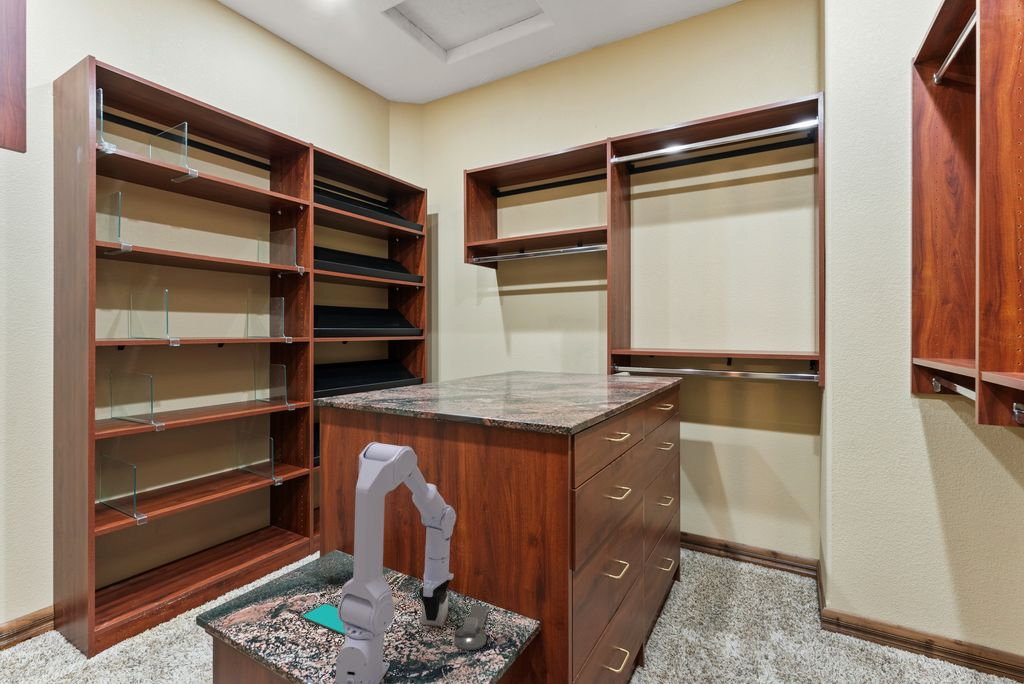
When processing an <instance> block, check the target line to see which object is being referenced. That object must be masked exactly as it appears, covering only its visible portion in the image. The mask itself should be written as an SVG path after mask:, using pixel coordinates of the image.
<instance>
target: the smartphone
mask: <svg viewBox="0 0 1024 684" xmlns="http://www.w3.org/2000/svg"><path fill="white" fill-rule="evenodd" d="M324 603H325V604H323V603H321V604H319V605H318V606H315V607H313V609H310V610H308V611H307V612H304V613H303V614H300V615H299V618H300V619H301V618H302V619H301V620H303V619H305V620H304V621H306V620H307V621H306V622H308V621H310V622H312V623H311V624H313V623H314V625H315V624H316V625H315V626H318V627H321V628H323V630H327V631H329V632H332V633H334V634H336V635H339V636H343V637H345V632H346V631H345V629H343V622H341V621H340V620H339V618H338V614H337V610H338V606H334V605H331V604H329V603H327V602H324ZM310 622H309V623H310Z"/></svg>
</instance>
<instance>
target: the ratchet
mask: <svg viewBox="0 0 1024 684" xmlns="http://www.w3.org/2000/svg"><path fill="white" fill-rule="evenodd" d="M488 609H489V607H488V606H487V605H486V606H485V605H483V606H482V605H472V608H471V610H470V614H469V616H466V617H465V619H464V622H463V626H461V627H459V628H457V629H456V630H455V632H454V636H453V637H454V638H453V644H454V646H455V647H456V648H457V649H459V650H462V651H465V650H475V651H478V650H481V649H482V648H484V647H485V645H486V643H487V632H486V630H485V629H484V628H483V627H484V625H485V622H486V618H487V616H488V611H489V610H488ZM483 646H484V647H483ZM480 648H481V649H480ZM477 649H478V650H477Z"/></svg>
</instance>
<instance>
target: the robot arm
mask: <svg viewBox="0 0 1024 684" xmlns="http://www.w3.org/2000/svg"><path fill="white" fill-rule="evenodd" d="M417 464H418V456H417V454H416V453H415V451H414V449H413V448H412V447H411V446H409V445H406V446H405V445H403V446H402V445H394V444H389V443H388V444H387V443H380V442H378V441H373V442H369V443H368V445H366V447H365V448H364V449H363V450H362V451H361V453H360V454H359V455H358V479H357V482H356V486H355V503H354V504H355V505H354V506H355V507H354V534H353V535H354V540H353V542H354V545H353V571H352V572H353V574H352V576H353V577H352V578H351V579H349V580H348V581H347V582H345V583H344V585H342V594H341V599H340V602H339V601H338V606H337V608H338V610H337V614H338V618H339V620H340V621H341V622H343V629H345V631H346V632H345V636H344V643H343V644H342V647H341V648H340V650H339V652H338V653H337V656H336V660H335V661H336V662H335V681H334V683H333V684H380V683H381V682H382V680H383V677H384V676H385V675H386V673H387V671H388V670H389V668H390V664H391V663H389V662H385V661H383V658H384V642H385V632H386V630H388V628H389V627H390V626H391V624H392V622H393V620H394V619H393V618H394V616H395V609H396V606H395V607H394V602H393V599H392V592H393V590H392V589H393V588H392V587H391V586H390V585H389V583H388V582H387V580H386V579H385V577H384V576H383V572H384V571H383V570H384V568H383V567H384V563H383V562H384V538H385V536H384V534H385V533H384V532H385V531H384V530H385V497H386V495H387V494H388V493H389V492H392V491H394V490H395V489H396V488H397V487H398V486H400V484H401V483H403V484H404V485H406V487H407V488H408V489H409V490H410V491H411V493H412V496H411V497H412V502H413V504H414V505H415V507H416V508H417V509H418V511H419V512H420V516H421V525H423V526H424V527H426V531H425V532H426V534H425V552H424V553H425V555H424V557H425V558H424V573H423V578H422V579H423V584H424V585H423V586H421V587H420V588H419V592H418V594H419V595H418V596H419V597H420V599H421V601H422V602H423V604H424V608H425V613H426V618H427V620H430V621H436V618H437V615H438V609H439V604H440V600H441V597H442V595H443V594H447V590H448V587H449V585H450V582H451V580H453V579H454V573H451V572H450V552H451V551H450V550H451V537H452V536H453V534H454V533H453V531H454V525H455V523H456V520H457V514H456V511H455V509H454V508H453V506H452V505H449V504H447V503H446V502H445V500H444V497H442V496H441V494H440V493H439V492H438V490H437V489H438V487H437V486H436V484H432V483H427V482H426V480H425V478H424V476H423V474H422V472H421V470H420V469H419V467H418V465H417Z"/></svg>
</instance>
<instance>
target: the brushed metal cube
mask: <svg viewBox="0 0 1024 684" xmlns="http://www.w3.org/2000/svg"><path fill="white" fill-rule="evenodd" d="M448 612H449V593H446V594H443V595H442V597H441V600H440V604H439V609H438V615H437V618H436V621H430V620H427V618H426V613H425V608H424V604H423V601H422V602H421V620H420V621H421V622H420V624H421V625H423V626H424V625H425V626H434V627H443V626H444V624H445V622H446V619H447V618H448V615H449V614H448Z"/></svg>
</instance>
